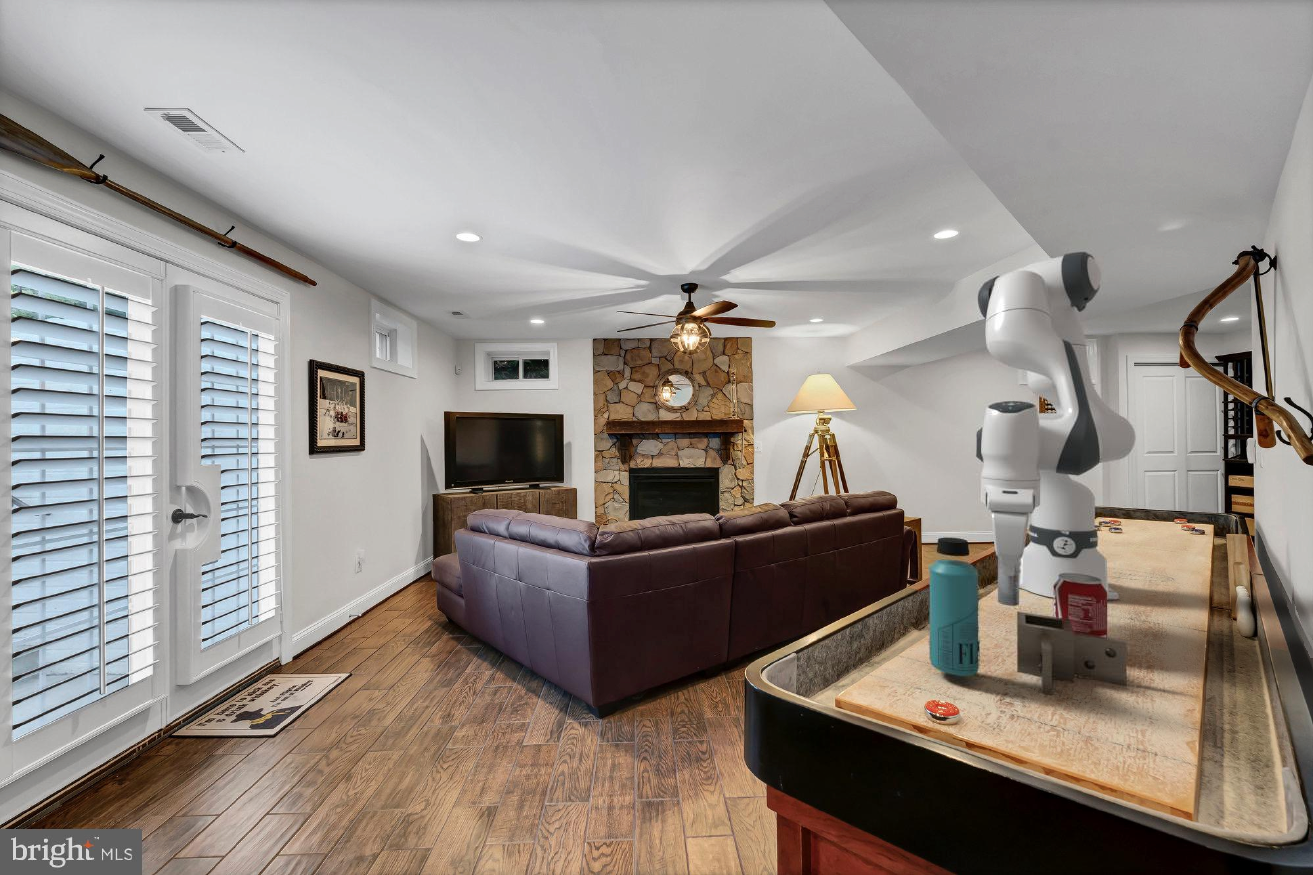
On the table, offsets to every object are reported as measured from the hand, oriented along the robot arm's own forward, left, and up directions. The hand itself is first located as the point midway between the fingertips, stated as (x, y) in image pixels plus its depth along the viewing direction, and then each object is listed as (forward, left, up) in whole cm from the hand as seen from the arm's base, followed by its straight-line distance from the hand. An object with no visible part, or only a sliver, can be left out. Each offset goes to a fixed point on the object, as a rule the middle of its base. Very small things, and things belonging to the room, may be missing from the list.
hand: (1008, 571), depth 96 cm
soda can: (+6, +10, -11) cm, 15 cm away
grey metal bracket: (+19, +8, -10) cm, 23 cm away
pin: (0, 0, -6) cm, 6 cm away
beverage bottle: (+26, -6, -11) cm, 29 cm away
